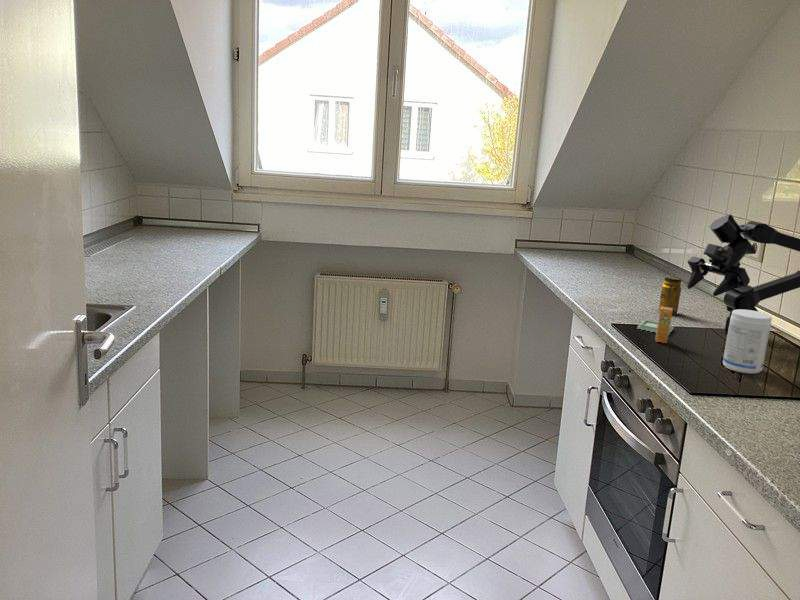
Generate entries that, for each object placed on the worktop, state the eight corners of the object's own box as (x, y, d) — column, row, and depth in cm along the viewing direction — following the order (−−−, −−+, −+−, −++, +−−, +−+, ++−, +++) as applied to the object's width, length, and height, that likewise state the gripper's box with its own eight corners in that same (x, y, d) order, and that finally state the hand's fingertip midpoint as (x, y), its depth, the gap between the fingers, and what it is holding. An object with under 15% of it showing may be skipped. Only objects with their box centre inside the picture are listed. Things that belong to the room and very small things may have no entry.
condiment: (653, 309, 255) (659, 275, 252) (677, 311, 256) (683, 276, 253) (662, 315, 248) (668, 279, 245) (687, 316, 249) (693, 281, 246)
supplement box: (654, 342, 212) (660, 308, 210) (655, 339, 215) (660, 305, 213) (666, 344, 211) (672, 310, 209) (667, 341, 214) (673, 307, 212)
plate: (672, 329, 229) (673, 324, 229) (668, 335, 221) (669, 330, 221) (642, 323, 233) (643, 319, 233) (637, 329, 225) (637, 324, 225)
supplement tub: (736, 361, 200) (746, 307, 197) (769, 372, 192) (780, 317, 189) (713, 364, 195) (723, 310, 191) (746, 376, 187) (758, 319, 184)
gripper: (697, 229, 227) (665, 266, 224) (751, 240, 211) (717, 279, 208) (710, 255, 232) (679, 291, 229) (763, 267, 217) (731, 306, 214)
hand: (700, 291), depth 220 cm, fingers open, 9 cm apart
